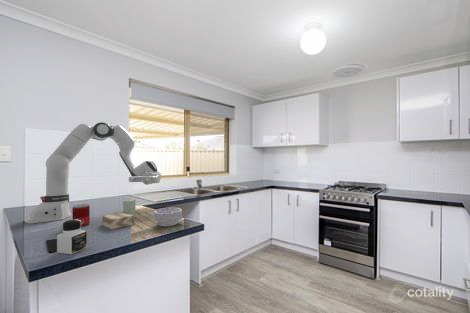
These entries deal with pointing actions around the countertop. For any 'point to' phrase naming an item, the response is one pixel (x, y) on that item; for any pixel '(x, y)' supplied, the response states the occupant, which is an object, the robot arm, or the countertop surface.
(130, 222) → the wooden base
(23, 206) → the countertop surface
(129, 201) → the sage green post
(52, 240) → the cell phone
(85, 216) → the canned food
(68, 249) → the medicine bottle
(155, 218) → the paper bowls
